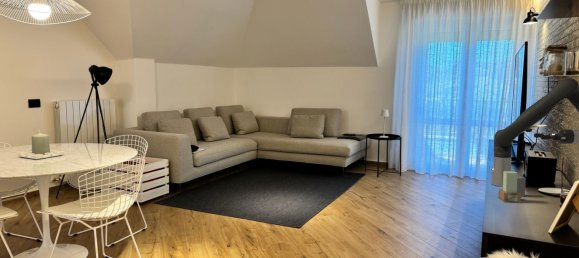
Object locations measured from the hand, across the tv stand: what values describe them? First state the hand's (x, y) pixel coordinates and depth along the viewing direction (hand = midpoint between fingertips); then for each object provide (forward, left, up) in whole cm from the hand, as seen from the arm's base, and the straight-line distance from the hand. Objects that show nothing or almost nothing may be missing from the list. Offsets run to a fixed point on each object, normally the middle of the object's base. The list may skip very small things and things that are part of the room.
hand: (537, 136), depth 210 cm
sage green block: (-3, -21, -27) cm, 34 cm away
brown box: (-3, -21, -32) cm, 38 cm away
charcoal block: (-5, -8, -32) cm, 33 cm away
